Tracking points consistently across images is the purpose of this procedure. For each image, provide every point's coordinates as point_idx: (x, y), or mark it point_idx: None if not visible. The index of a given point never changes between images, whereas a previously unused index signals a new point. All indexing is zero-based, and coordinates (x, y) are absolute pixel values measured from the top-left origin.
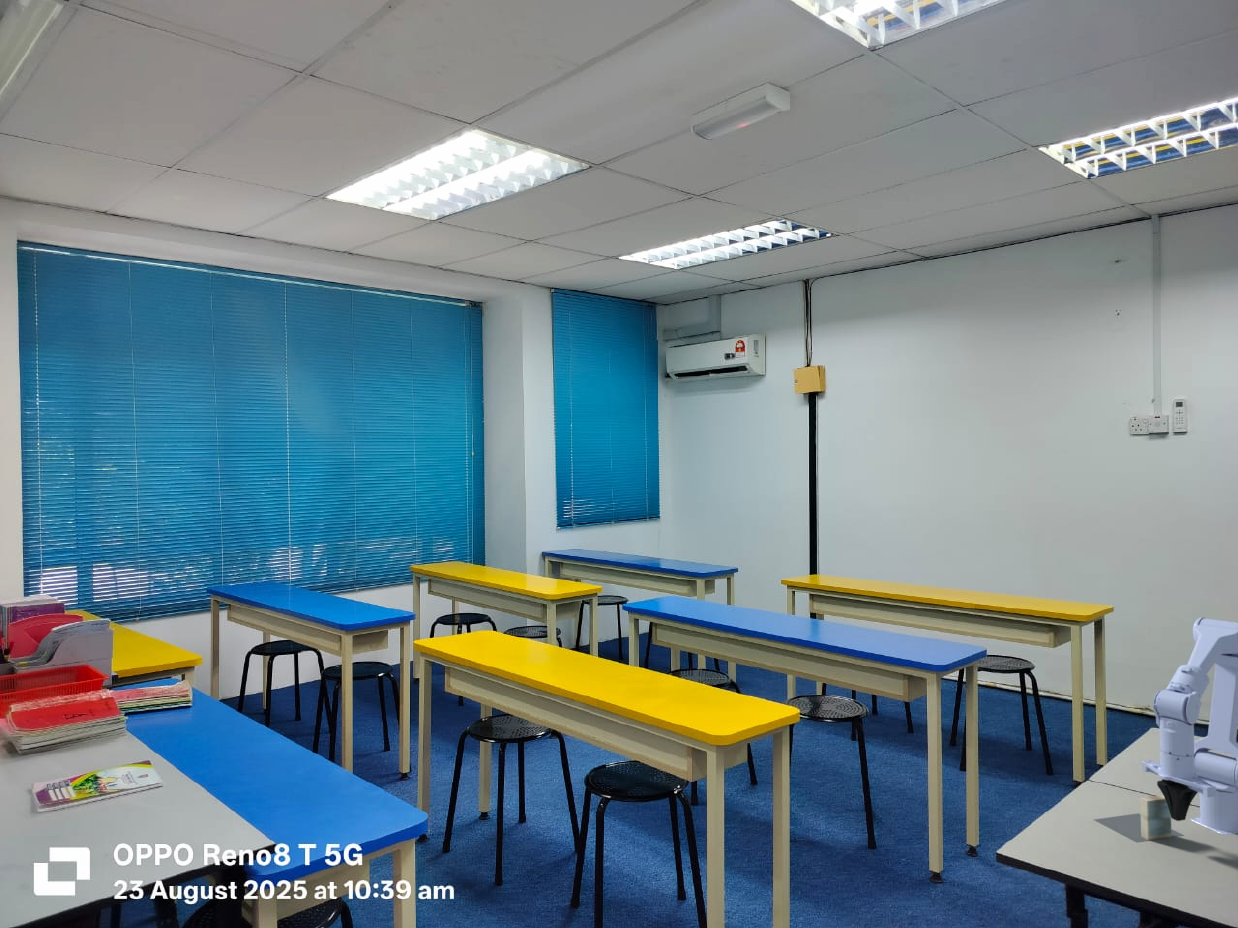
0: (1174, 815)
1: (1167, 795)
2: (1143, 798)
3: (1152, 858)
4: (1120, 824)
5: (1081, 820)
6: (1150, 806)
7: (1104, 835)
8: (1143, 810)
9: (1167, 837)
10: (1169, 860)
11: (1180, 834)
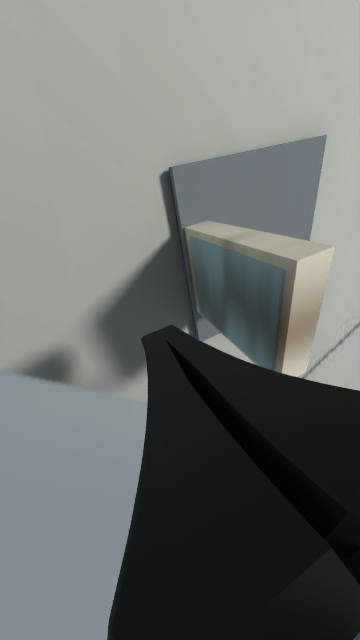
0: (157, 341)
1: (251, 400)
2: (323, 261)
3: (45, 141)
4: (279, 209)
5: (339, 98)
6: (265, 272)
7: (247, 86)
8: (265, 238)
9: (193, 298)
10: (39, 212)
11: (203, 336)
